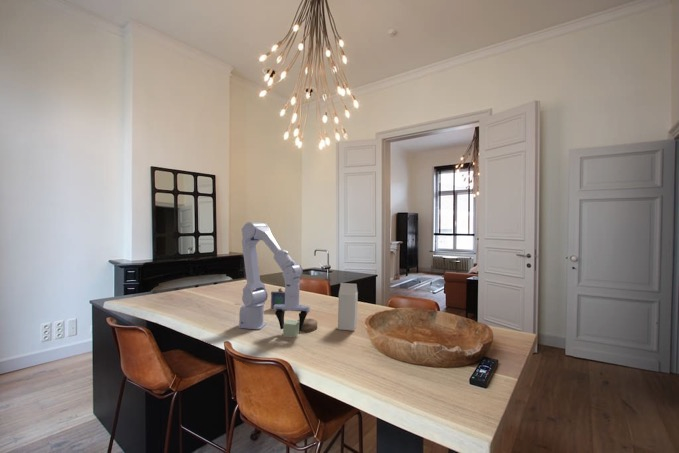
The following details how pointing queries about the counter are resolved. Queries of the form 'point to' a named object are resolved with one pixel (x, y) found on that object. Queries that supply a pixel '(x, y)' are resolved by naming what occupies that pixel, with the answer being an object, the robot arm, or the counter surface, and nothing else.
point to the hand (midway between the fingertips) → (291, 329)
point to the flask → (277, 298)
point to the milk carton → (347, 306)
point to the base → (309, 325)
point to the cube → (291, 328)
